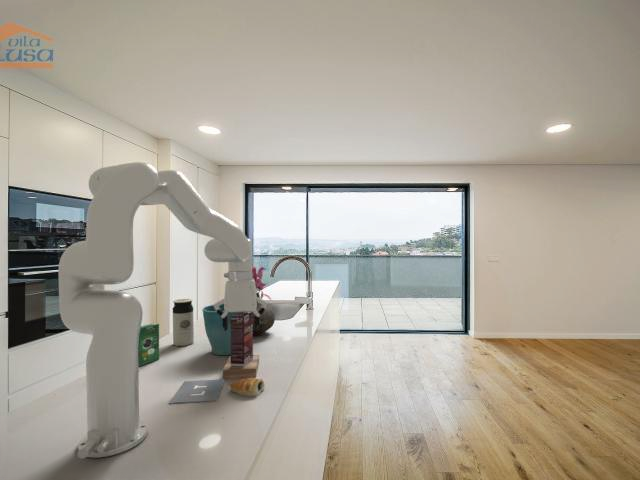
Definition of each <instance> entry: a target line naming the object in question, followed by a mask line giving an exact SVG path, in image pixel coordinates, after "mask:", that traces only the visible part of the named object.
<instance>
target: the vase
mask: <svg viewBox="0 0 640 480" xmlns="http://www.w3.org/2000/svg"><path fill="white" fill-rule="evenodd" d="M263 270H264V271H265V270H266V268H265V266H261V267H260V268H259V269H258V271H257V268H256V267H255V266H253V267H252V280H254V281H255V286H256V290H258V292H256V295H257V297H258V298H260V299H262V300H263V297H264V296H265V297H267V298H268V299H269V300H270V301H272V302H273V300H272V298H271V297H270V295H267V294H264V292H263V290H264V287H265V286H267V285H268V284H267V283H263V282H262V279H263V273H264V272H263ZM260 293H261V294H260ZM262 306H263V305H262V304H261V303H258V302H257V307H256V308H257V309H258V310H260V309H261V308H262ZM275 320H276V314H275V311H274V309H273V308H272V307H271V306H270V305H269V304H268V305H267V307H266V309H265V311H264V312H263V313H262V314H261V315H260V326H258V328H257V329H255V314H254V313H253V335H258V336H262V335H264V334H265V333H266V332H267V331H269V330H270V329H272V327H273V326H274V324H275ZM263 333H264V334H263ZM261 334H262V335H261Z"/></svg>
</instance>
